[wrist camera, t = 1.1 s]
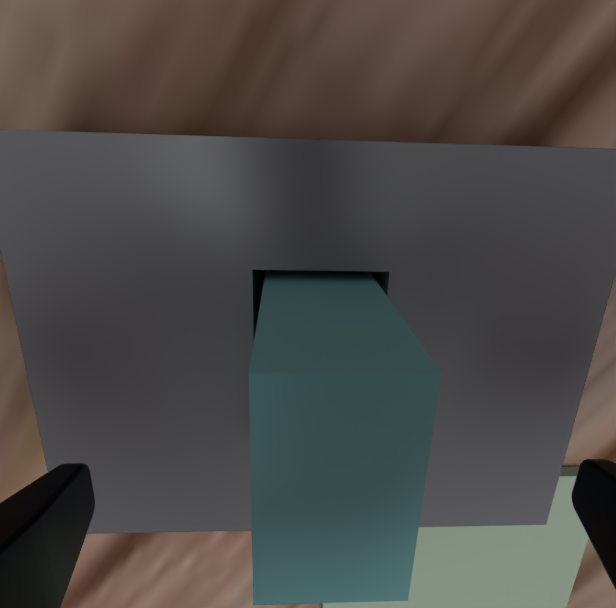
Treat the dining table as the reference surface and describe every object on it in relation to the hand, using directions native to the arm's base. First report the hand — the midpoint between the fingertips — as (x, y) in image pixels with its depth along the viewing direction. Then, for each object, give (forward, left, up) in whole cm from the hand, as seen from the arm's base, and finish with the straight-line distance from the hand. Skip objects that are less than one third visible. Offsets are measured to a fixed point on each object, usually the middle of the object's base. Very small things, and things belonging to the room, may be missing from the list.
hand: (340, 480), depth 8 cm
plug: (0, 0, -9) cm, 9 cm away
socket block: (0, 0, -9) cm, 9 cm away
